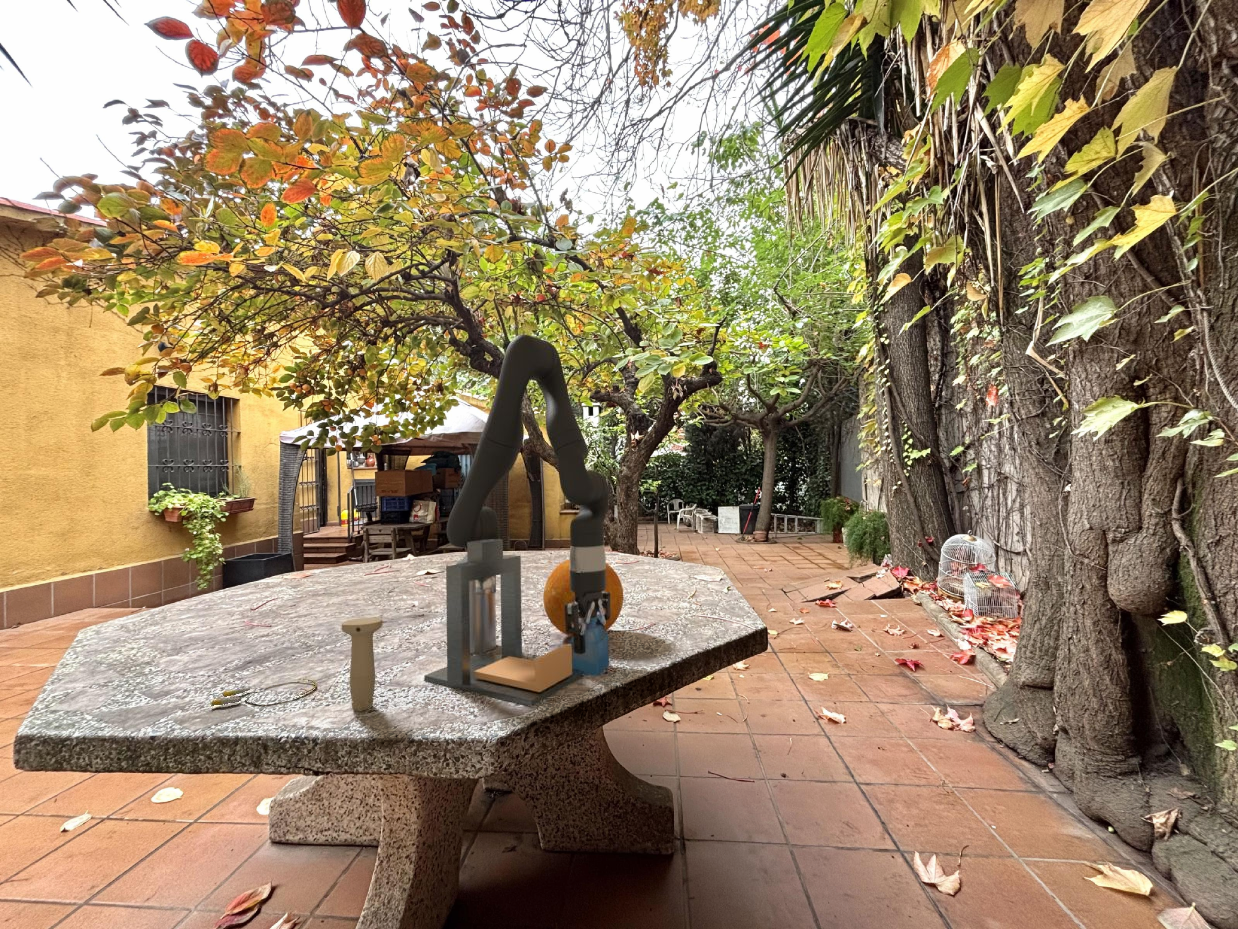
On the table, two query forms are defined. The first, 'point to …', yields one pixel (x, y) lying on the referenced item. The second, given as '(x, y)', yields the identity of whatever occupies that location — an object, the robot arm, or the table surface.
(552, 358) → the robot arm
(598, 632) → the perfume bottle
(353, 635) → the handle
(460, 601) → the press frame
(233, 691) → the jump rope
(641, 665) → the table surface
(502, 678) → the press bed carriage
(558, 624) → the decorative sphere
